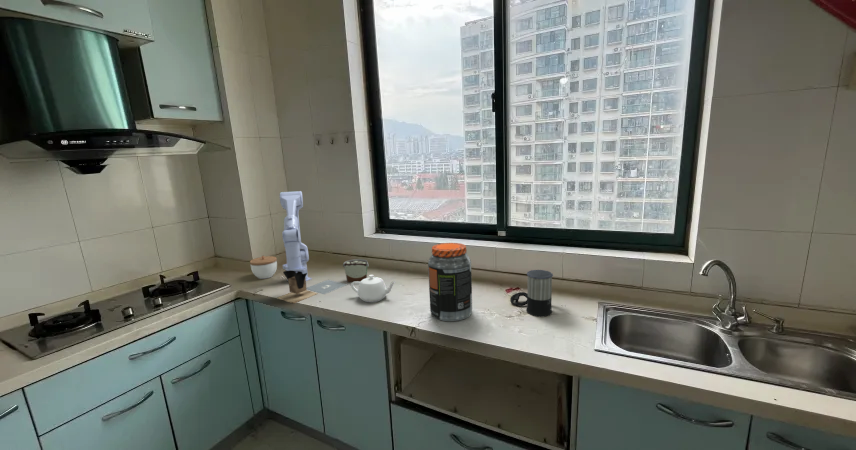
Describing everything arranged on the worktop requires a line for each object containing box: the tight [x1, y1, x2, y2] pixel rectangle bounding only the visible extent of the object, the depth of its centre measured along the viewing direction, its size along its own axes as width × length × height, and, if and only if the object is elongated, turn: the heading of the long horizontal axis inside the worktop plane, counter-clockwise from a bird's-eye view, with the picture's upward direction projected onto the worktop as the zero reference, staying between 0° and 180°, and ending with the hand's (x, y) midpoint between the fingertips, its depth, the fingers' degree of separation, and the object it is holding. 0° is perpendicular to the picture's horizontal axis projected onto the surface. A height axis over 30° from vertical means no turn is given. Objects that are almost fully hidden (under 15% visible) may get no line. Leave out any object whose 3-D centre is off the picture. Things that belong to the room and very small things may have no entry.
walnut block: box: [287, 277, 308, 294], centre depth 158 cm, size 5×5×6 cm
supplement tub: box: [427, 242, 473, 322], centre depth 133 cm, size 16×16×26 cm
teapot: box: [350, 274, 396, 303], centre depth 152 cm, size 20×12×10 cm, turn 76°
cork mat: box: [277, 290, 319, 305], centre depth 158 cm, size 12×12×1 cm
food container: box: [342, 258, 369, 283], centre depth 175 cm, size 12×6×10 cm, turn 84°
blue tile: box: [306, 279, 348, 295], centre depth 168 cm, size 14×14×1 cm
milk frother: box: [510, 269, 554, 317], centre depth 136 cm, size 14×16×15 cm
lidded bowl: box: [249, 255, 278, 280], centre depth 186 cm, size 13×13×11 cm
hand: (296, 286), depth 157 cm, fingers closed on walnut block, 5 cm apart
